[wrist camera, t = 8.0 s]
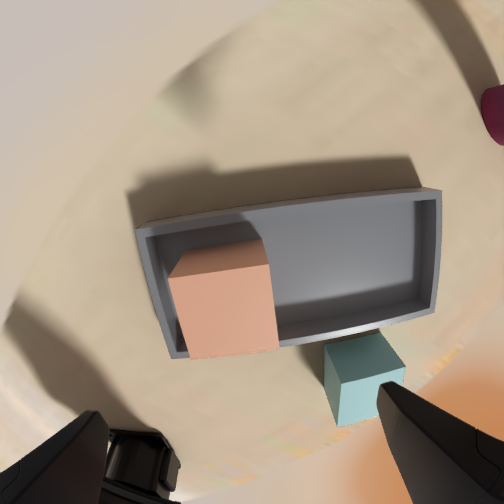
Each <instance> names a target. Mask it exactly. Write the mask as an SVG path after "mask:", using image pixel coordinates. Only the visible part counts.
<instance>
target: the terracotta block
mask: <svg viewBox="0 0 504 504" xmlns="http://www.w3.org/2000/svg"><path fill="white" fill-rule="evenodd" d="M168 282H169V286H170V290H171V293H172V297H173V301H174V304H175V308H176V312H177V315H178V319H179V322H180V326H181V329H182V332H183V336H184V339H185V342H186V345H187V349H188V352H189V355H190V358H191V359H203V358H214V357H224V356H233V355H241V354H249V353H257V352H264V351H271V350H277V349H280V348H279V340H278V331H277V323H276V316H275V308H274V300H273V292H272V284H271V277H270V269H269V263H268V259H267V256H266V252H265V248H264V244H263V241H262V239H257V240H250V241H244V242H237V243H230V244H224V245H217V246H211V247H204V248H198V249H191V250H186V251H185V252H184V254H183V255H182V257H181V259H180V260H179V262H178V263H177V265H176V266H175V268H174V269H173V271H172V273H171V274H170V276H169V277H168Z"/></svg>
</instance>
